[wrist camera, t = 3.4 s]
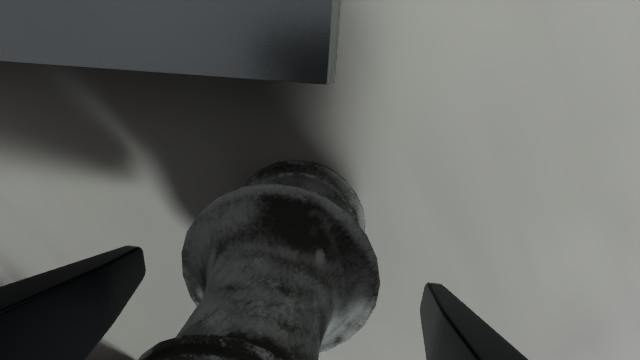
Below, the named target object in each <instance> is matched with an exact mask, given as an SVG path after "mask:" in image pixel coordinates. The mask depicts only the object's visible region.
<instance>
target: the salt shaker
mask: <svg viewBox="0 0 640 360" xmlns="http://www.w3.org/2000/svg"><path fill="white" fill-rule="evenodd" d="M364 232H365V220H364V212H363V208H362V205H361V203H360V201H359V199H358V196H357V194H356V193H355V191H354V190H353V189H352V188H351V187H350V185H349V184H348V183H347V182H346V180H344V179H343V178H342V177H340V176H339V175H338V174H336V173H335V172H333V171H332V170H331V169H328V168H326V167H323V166H321V165H318V164H316V163H313V162H305V161H297V160H293V161H286V162H278V163H275V164H273V165H271V166H268V167H266V168H264V169H261V170H260V171H259V172H258V173H257V174H255V175H254V176H253V177H252V178H250V179H249V180H248V181H247V183H246V184H245V186H244V187H241V188H238V189H236V190H234V191H231V192H229V193H226V194H224V195H221V196H219V197H218V198H217V199H215V200H214V201H213V202H212V203H211V204H209V205H208V206H207V207H206V208H205V209H203V210H202V211H201V212H200V213H199V214H198V215H197V217H196V219H195V220H194V222H193V223H192V225H191V227H190V228H189V230H188V231H187V234H186V238H185V242H184V246H183V250H182V268H183V277H184V279H185V282H186V285H187V288H188V291H189V294H190V296H191V298H192V300H193V301H194V303H195V304H196V306H197V308H196V309H195V310H194V312H193V313H192V315H191V316H190V318H189V319H188V321H187V322H186V324H185V325H184V326H183V328H182V329H181V331H180V332H179V334H178V335H177V337H176V338H173V339H169V340H166V341H163V342H159V343H158V344H157V345H155V346H154V347H152V348H151V349H149V350H148V351H146V352H145V353H144V354H142V355H141V357H140V358H139V359H138V360H318V356H319V352H323V351H327V350H330V349H332V348H334V347H336V346H337V345H339V344H341V343H343V342H345V341H347V340H349V339H350V338H351V337H352V336H353V335H354V334H355V333H356V332H357V331H359V330H360V329H361V328H362V327H363V326H364V325H365V323H366V322H367V320H368V318H369V316H370V315H371V313H372V311H373V309H374V308H375V306H376V301H377V296H378V291H379V286H380V280H379V271H378V263H377V257H376V255H375V253H374V251H373V248H372V246H371V244H370V242H369V239H368V237H367V235H366V234H365V233H364Z"/></svg>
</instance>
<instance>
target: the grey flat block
mask: <svg viewBox="0 0 640 360" xmlns="http://www.w3.org/2000/svg"><path fill="white" fill-rule="evenodd" d="M340 4H341V0H0V61H8V62H22V63H36V64H50V65H64V66H78V67H92V68H106V69H120V70H134V71H148V72H162V73H176V74H190V75H204V76H218V77H232V78H245V79H259V80H273V81H287V82H301V83H315V84H330V83H334V82H335V69H336V56H337V43H338V30H339V17H340Z"/></svg>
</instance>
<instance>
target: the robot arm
mask: <svg viewBox="0 0 640 360" xmlns="http://www.w3.org/2000/svg"><path fill="white" fill-rule="evenodd" d="M145 271H146V269H145V262H144V255H143V250H142V249H141V248H140V247H136V246H124V247H121V248H118V249H115V250H112V251H109V252H106V253H102V254H99V255H96V256H93V257H90V258H87V259H84V260H81V261H78V262H75V263H72V264H69V265H66V266H63V267H60V268H57V269H54V270H50V271H47V272H44V273H41V274H38V275H35V276H32V277H29V278H26V279H23V280H20V281H17V282H14V283H11V284H8V285H5V286H2V287H0V360H85V359H86V358H87V356H88V355H89V354H90V352H91V351H92V350H93V349H94V347H95V346H96V345H97V344H98V342H99V341H100V340H101V339H102V337H103V336H104V335H105V334H106V332H107V331H108V330H109V328H110V327H111V326H112V324H113V323H114V322H115V320H116V319H117V317H118V316H119V315H120V313H121V311H122V310H123V308H124V307H125V305H126V304H127V302H128V301H129V299H130V298H131V296H132V295H133V293H134V292H135V290H136V289H137V287H138V286H139V284H140V283H141V281H142V280H143V278H144V276H145ZM420 316H421V323H422V330H423V337H424V344H425V352H426V359H427V360H528V359H527V358H526V357H525V356H523V355H522V354H521V353H520V352H519V351H518V350H517V349H515V348H514V347H513V346H512V345H511V344H510V343H509V342H507V341H506V340H505V339H504V338H503V337H502V336H501V335H499V334H498V333H497V332H496V331H495V330H494V329H492V328H491V327H490V326H489V325H488V324H487V323H486V322H484V321H483V320H482V319H481V318H480V317H479V316H478V315H476V314H475V313H474V312H473V311H472V310H471V309H470V308H468V307H467V306H466V305H465V304H464V303H463V302H461V301H460V300H459V299H458V298H457V297H456V296H455V295H453V294H452V293H451V292H450V291H449V290H448V289H447V288H445V287H444V286H443V285H442V284H436V283H427V284H426V285H425V288H424V292H423V297H422V301H421V306H420Z"/></svg>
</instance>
